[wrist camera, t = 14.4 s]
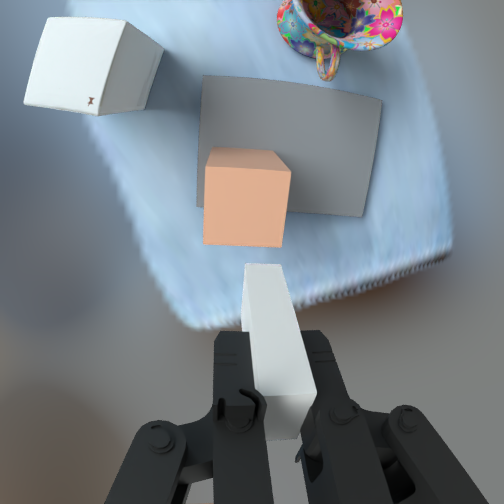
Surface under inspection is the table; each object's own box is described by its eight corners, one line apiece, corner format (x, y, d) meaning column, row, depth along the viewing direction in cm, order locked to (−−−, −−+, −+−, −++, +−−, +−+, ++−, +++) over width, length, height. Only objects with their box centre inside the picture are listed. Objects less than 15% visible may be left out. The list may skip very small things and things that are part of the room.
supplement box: (166, 47, 25) (131, 19, 14) (144, 111, 28) (98, 120, 17) (106, 37, 24) (47, 14, 13) (86, 99, 27) (20, 106, 16)
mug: (279, -19, 22) (300, -61, 13) (359, 4, 24) (407, -22, 14) (260, 75, 28) (275, 64, 18) (344, 95, 29) (391, 97, 20)
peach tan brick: (212, 146, 30) (205, 166, 21) (273, 150, 30) (291, 171, 22) (209, 203, 32) (203, 244, 24) (267, 206, 33) (281, 247, 25)
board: (204, 76, 27) (202, 75, 26) (376, 99, 29) (382, 100, 28) (197, 202, 34) (196, 206, 32) (357, 212, 36) (361, 217, 34)
